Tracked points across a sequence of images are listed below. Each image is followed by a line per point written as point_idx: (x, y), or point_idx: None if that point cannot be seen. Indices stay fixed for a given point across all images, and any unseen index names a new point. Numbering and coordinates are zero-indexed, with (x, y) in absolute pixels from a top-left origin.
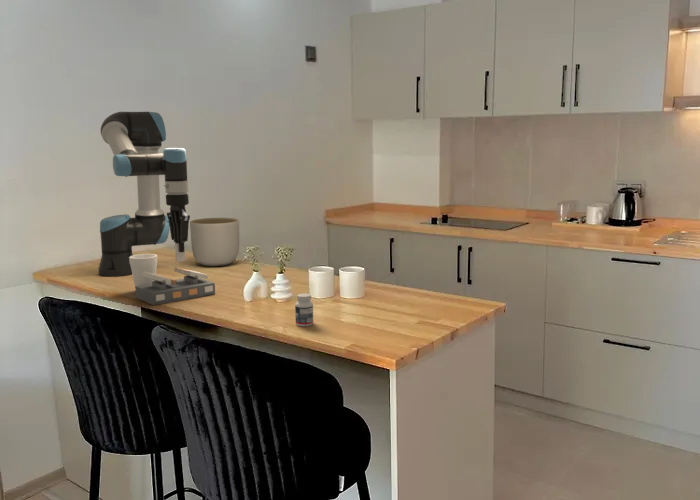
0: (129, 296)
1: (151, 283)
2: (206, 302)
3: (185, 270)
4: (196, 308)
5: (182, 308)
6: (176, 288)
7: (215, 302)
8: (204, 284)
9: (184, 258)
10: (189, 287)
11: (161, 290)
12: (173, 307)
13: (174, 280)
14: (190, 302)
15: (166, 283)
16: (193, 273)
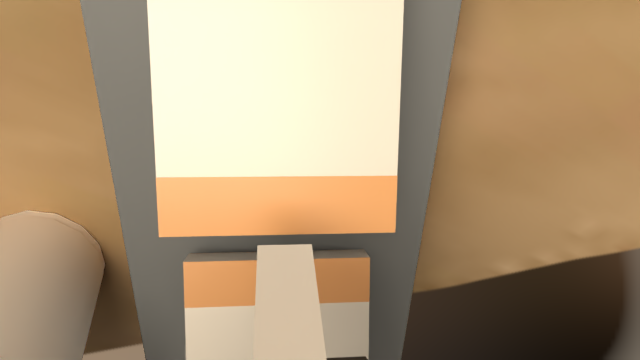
0: (115, 346)
1: (88, 286)
2: (571, 108)
3: (373, 222)
4: (616, 207)
5: (552, 254)
6: (396, 248)
7: (622, 66)
8: (451, 42)
9: (313, 269)
10: (432, 171)
11: (371, 325)
12: (499, 275)
13: (369, 277)
14: (490, 176)
15: (198, 238)
16: (394, 138)
